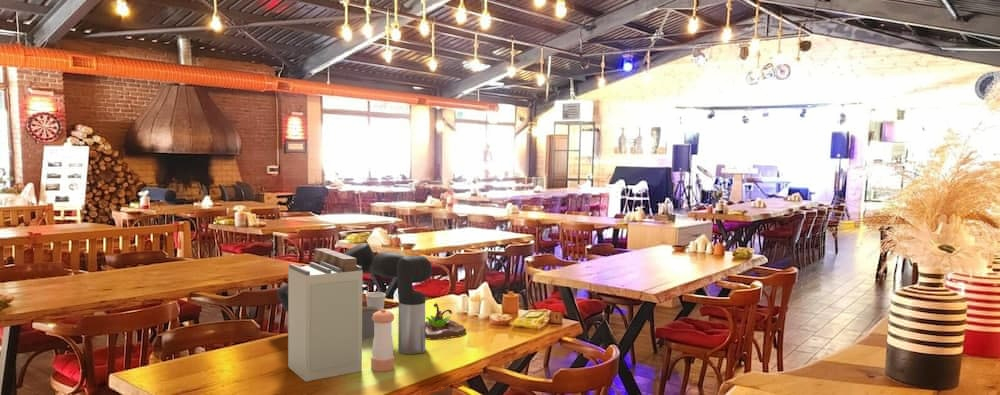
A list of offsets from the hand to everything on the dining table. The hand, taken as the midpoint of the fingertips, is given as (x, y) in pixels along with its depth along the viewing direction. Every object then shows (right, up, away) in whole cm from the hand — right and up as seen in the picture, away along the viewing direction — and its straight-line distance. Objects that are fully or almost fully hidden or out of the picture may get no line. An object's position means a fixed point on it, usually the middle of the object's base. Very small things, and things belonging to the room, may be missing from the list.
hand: (316, 265), depth 223 cm
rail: (+10, +2, -14) cm, 17 cm away
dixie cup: (+11, -27, +48) cm, 57 cm away
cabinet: (+8, -31, -19) cm, 37 cm away
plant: (+40, -29, +29) cm, 57 cm away
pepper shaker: (+26, -31, -16) cm, 44 cm away
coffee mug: (+11, -29, +22) cm, 38 cm away
